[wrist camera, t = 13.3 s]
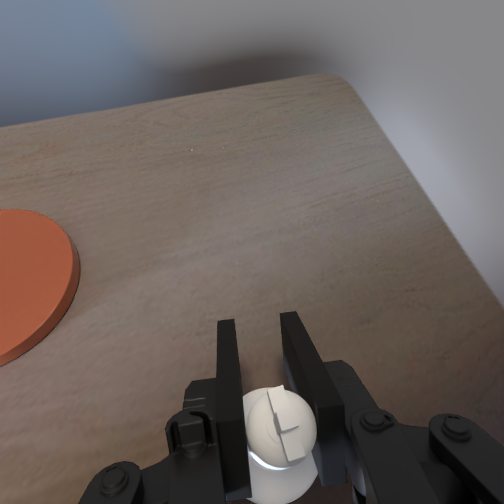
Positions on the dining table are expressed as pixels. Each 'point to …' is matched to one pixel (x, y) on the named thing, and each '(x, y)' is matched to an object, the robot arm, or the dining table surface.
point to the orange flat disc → (33, 279)
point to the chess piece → (279, 445)
